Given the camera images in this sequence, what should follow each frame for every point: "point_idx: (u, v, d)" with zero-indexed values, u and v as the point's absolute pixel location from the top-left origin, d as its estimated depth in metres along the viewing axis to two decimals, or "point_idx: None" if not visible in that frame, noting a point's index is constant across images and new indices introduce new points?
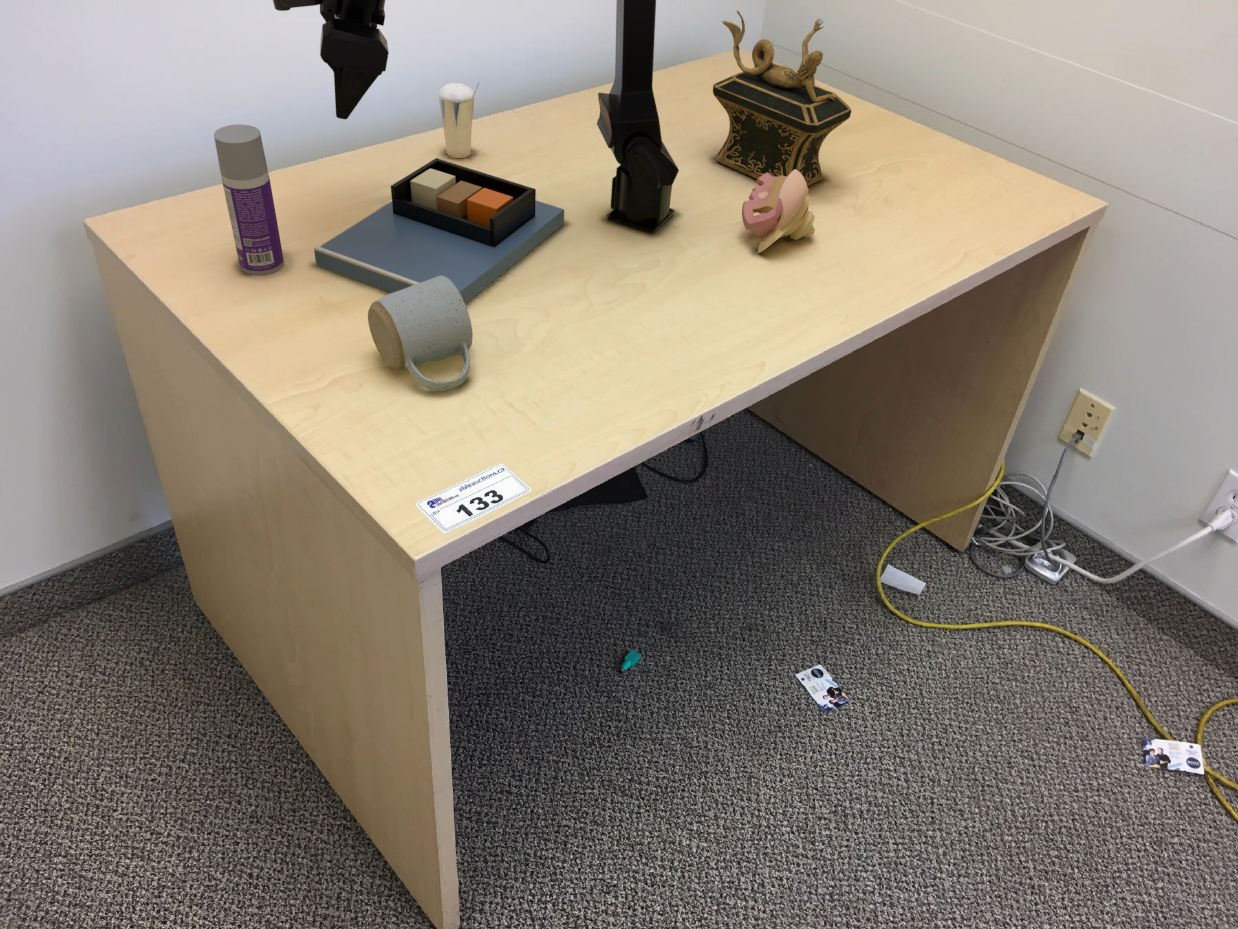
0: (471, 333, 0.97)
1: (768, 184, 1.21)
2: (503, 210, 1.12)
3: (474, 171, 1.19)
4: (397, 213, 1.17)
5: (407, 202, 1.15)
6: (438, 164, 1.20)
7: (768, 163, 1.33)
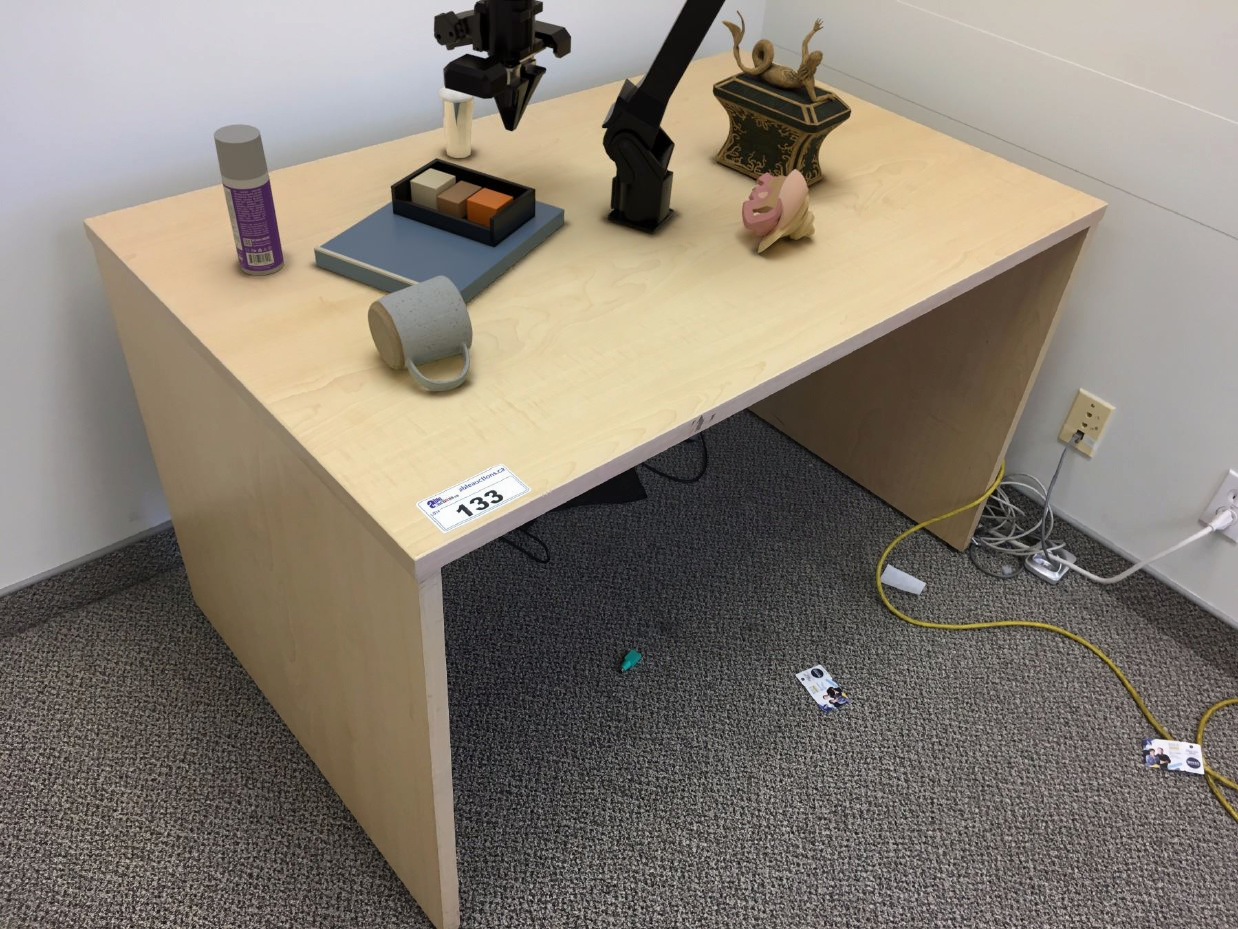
0: (471, 333, 0.97)
1: (768, 184, 1.21)
2: (503, 210, 1.12)
3: (474, 171, 1.19)
4: (397, 213, 1.17)
5: (407, 202, 1.15)
6: (438, 164, 1.20)
7: (768, 163, 1.33)
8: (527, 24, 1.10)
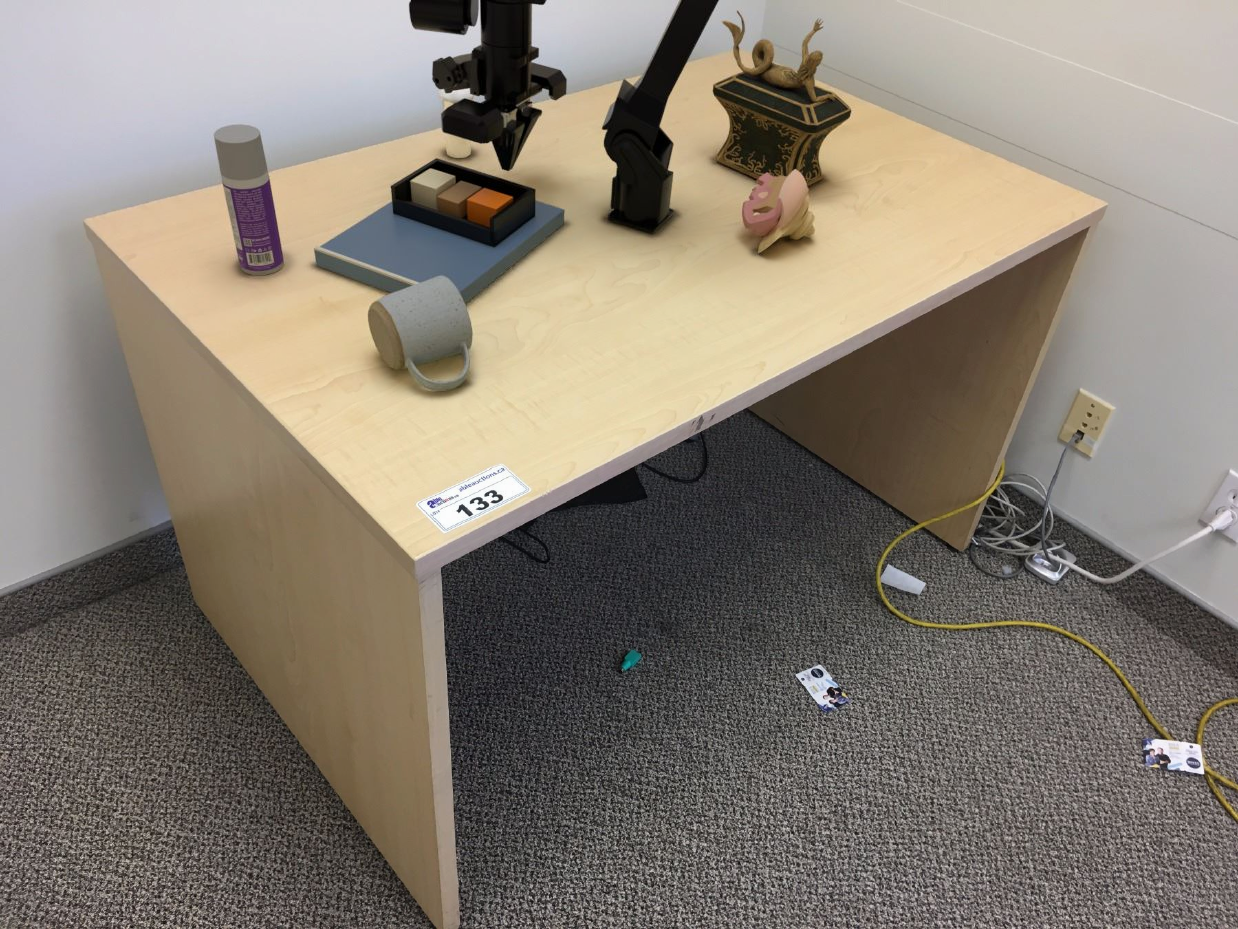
0: (471, 333, 0.97)
1: (768, 184, 1.21)
2: (503, 210, 1.12)
3: (474, 171, 1.19)
4: (397, 213, 1.17)
5: (407, 202, 1.15)
6: (438, 164, 1.20)
7: (768, 163, 1.33)
8: (523, 70, 1.13)
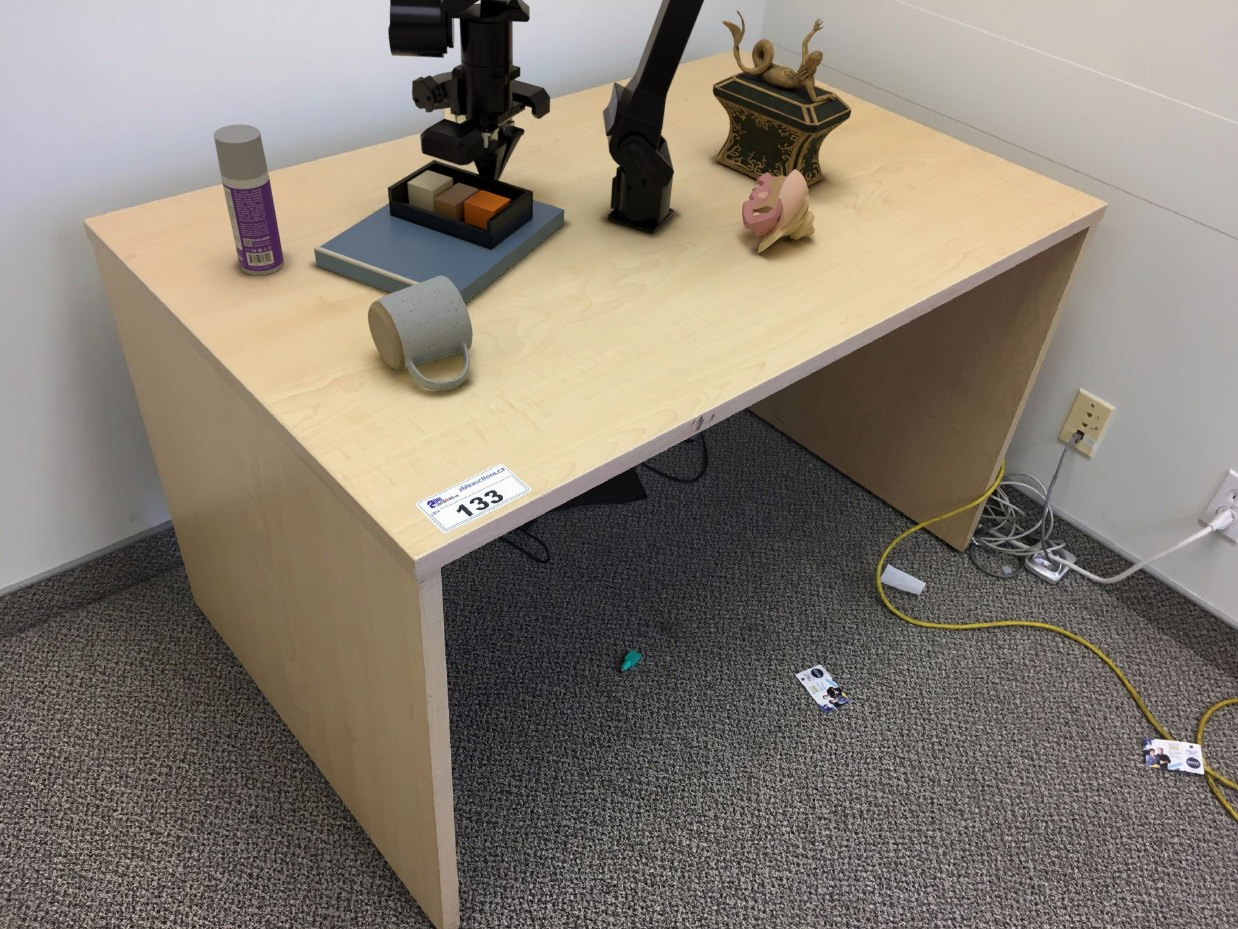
0: (471, 333, 0.97)
1: (768, 184, 1.21)
2: (500, 212, 1.12)
3: (471, 173, 1.18)
4: (394, 215, 1.16)
5: (404, 204, 1.15)
6: (436, 166, 1.20)
7: (768, 163, 1.33)
8: (504, 90, 1.11)
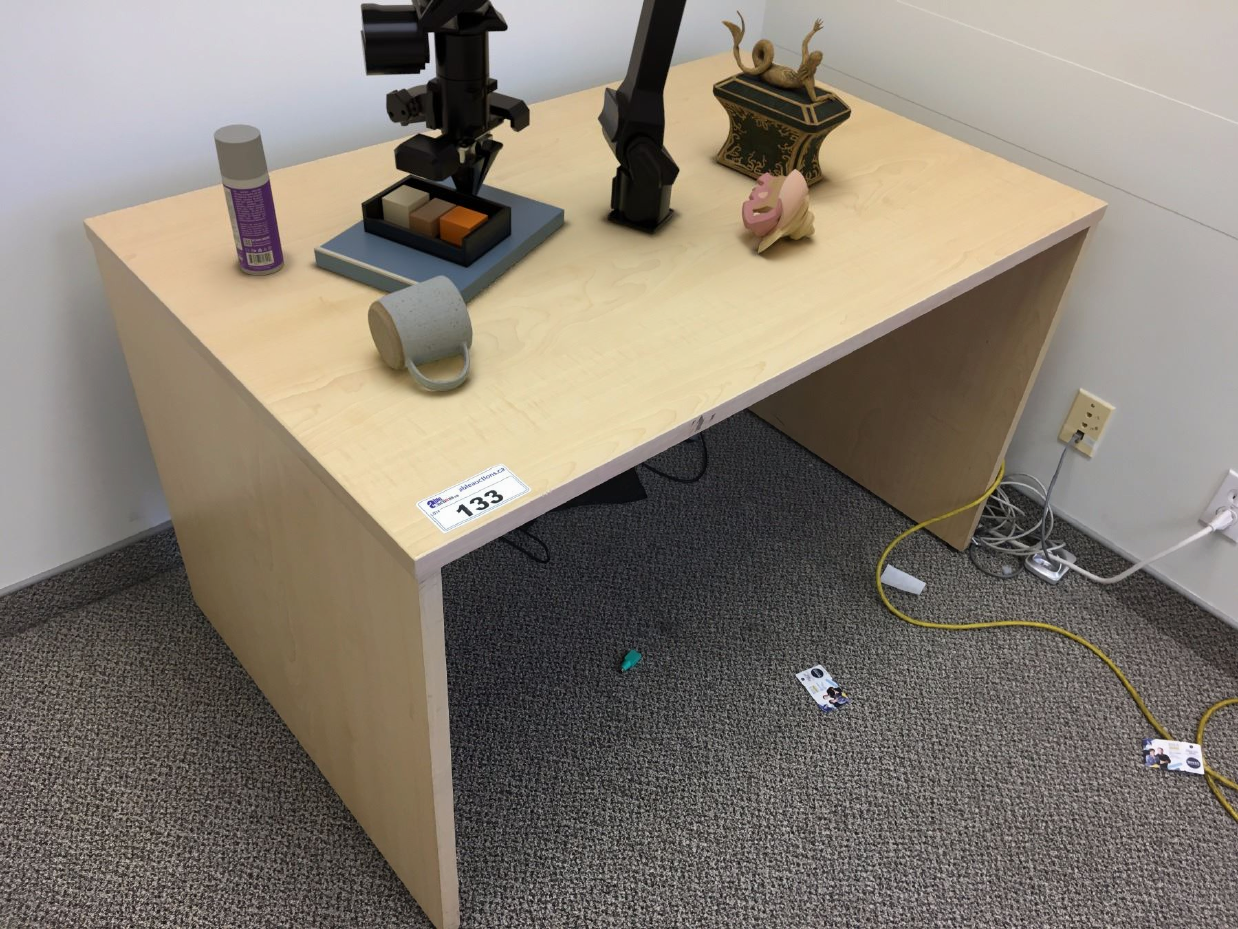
0: (471, 333, 0.97)
1: (768, 184, 1.21)
2: (476, 229, 1.08)
3: (449, 188, 1.15)
4: (368, 231, 1.13)
5: (378, 220, 1.11)
6: (412, 180, 1.17)
7: (768, 163, 1.33)
8: (480, 103, 1.08)
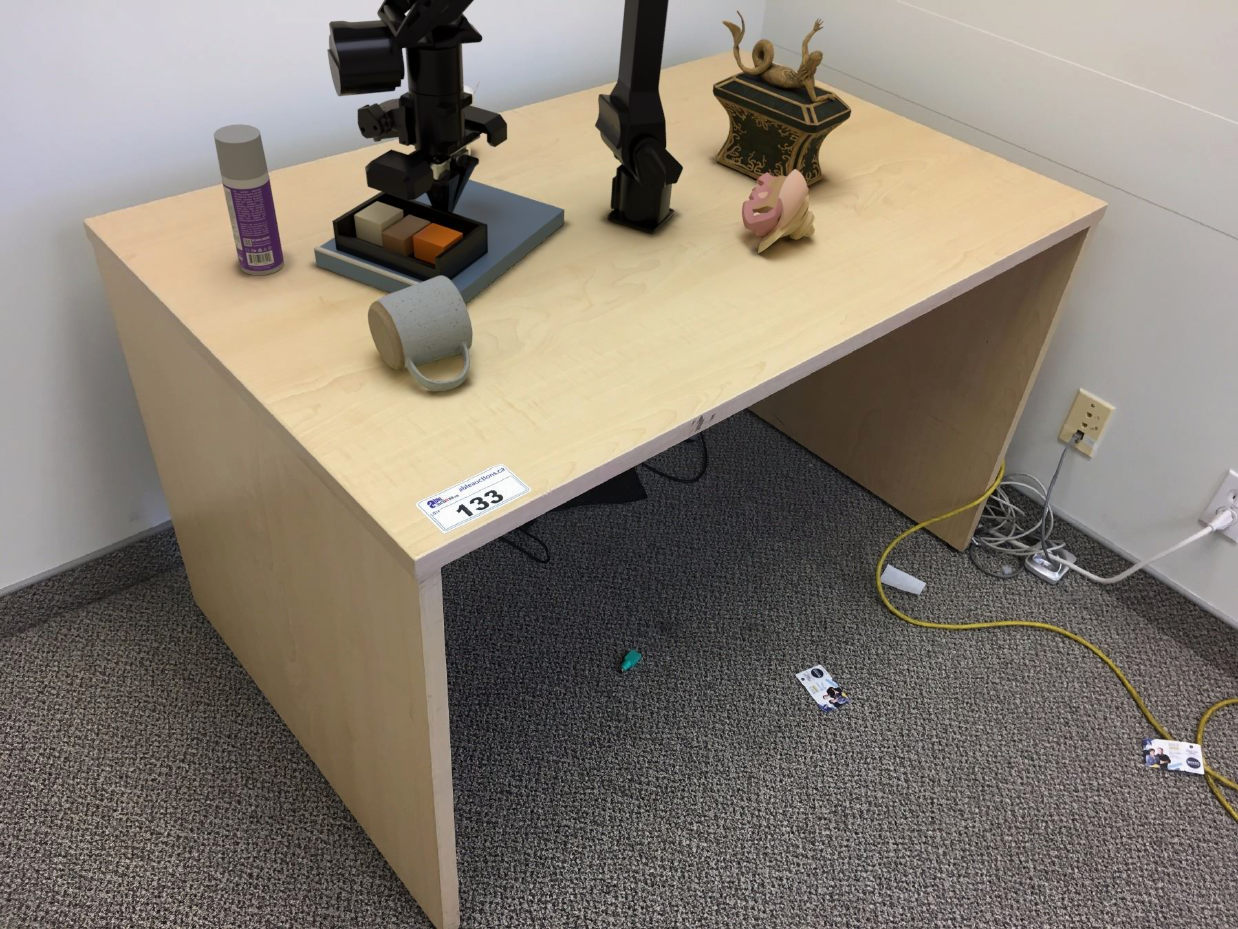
0: (471, 333, 0.97)
1: (768, 184, 1.21)
2: (450, 248, 1.05)
3: (423, 204, 1.12)
4: (340, 249, 1.10)
5: (350, 238, 1.08)
6: (386, 196, 1.13)
7: (768, 163, 1.33)
8: (454, 119, 1.04)
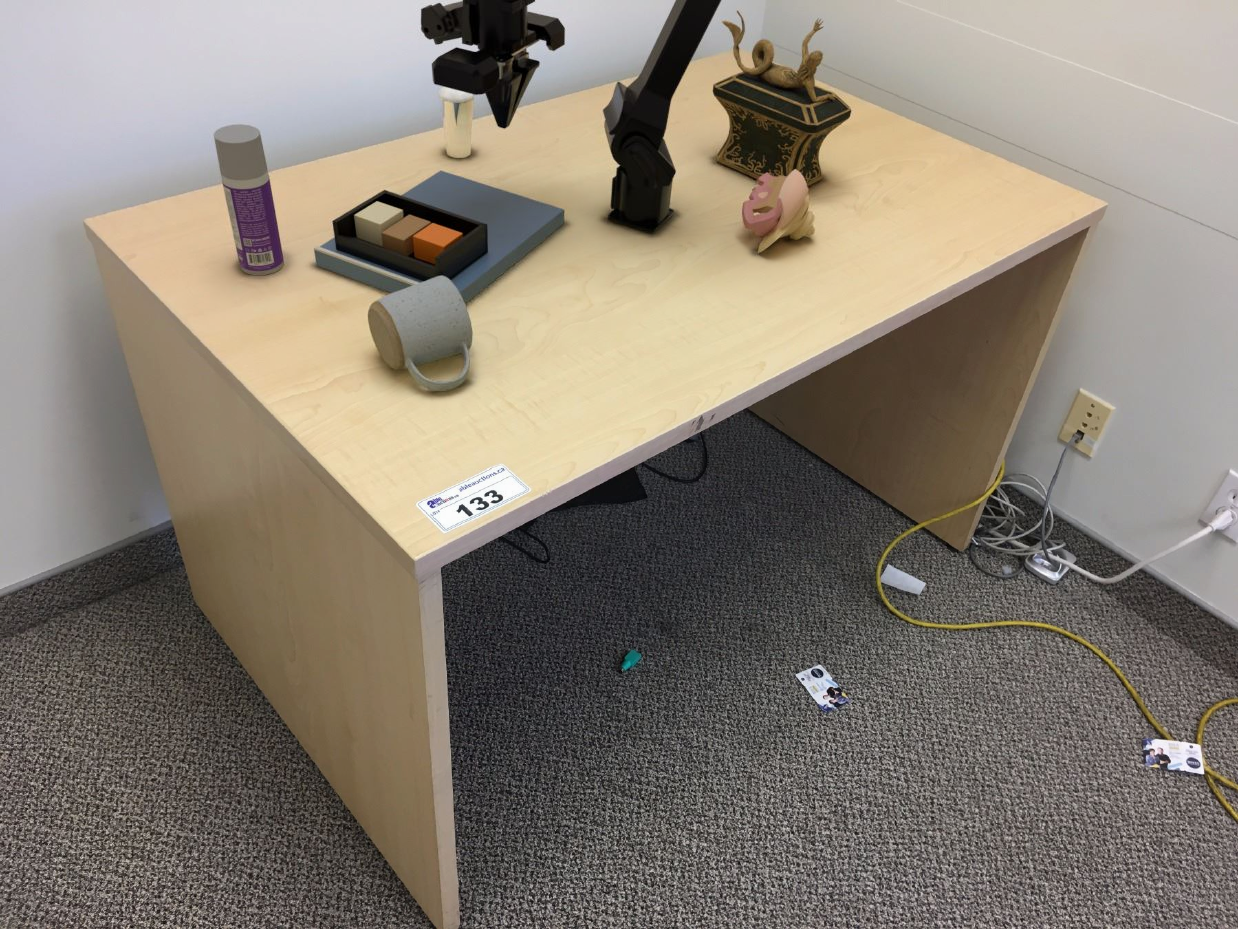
0: (471, 333, 0.97)
1: (768, 184, 1.21)
2: (450, 248, 1.05)
3: (423, 204, 1.12)
4: (340, 249, 1.10)
5: (350, 238, 1.08)
6: (386, 196, 1.13)
7: (768, 163, 1.33)
8: (519, 15, 1.05)
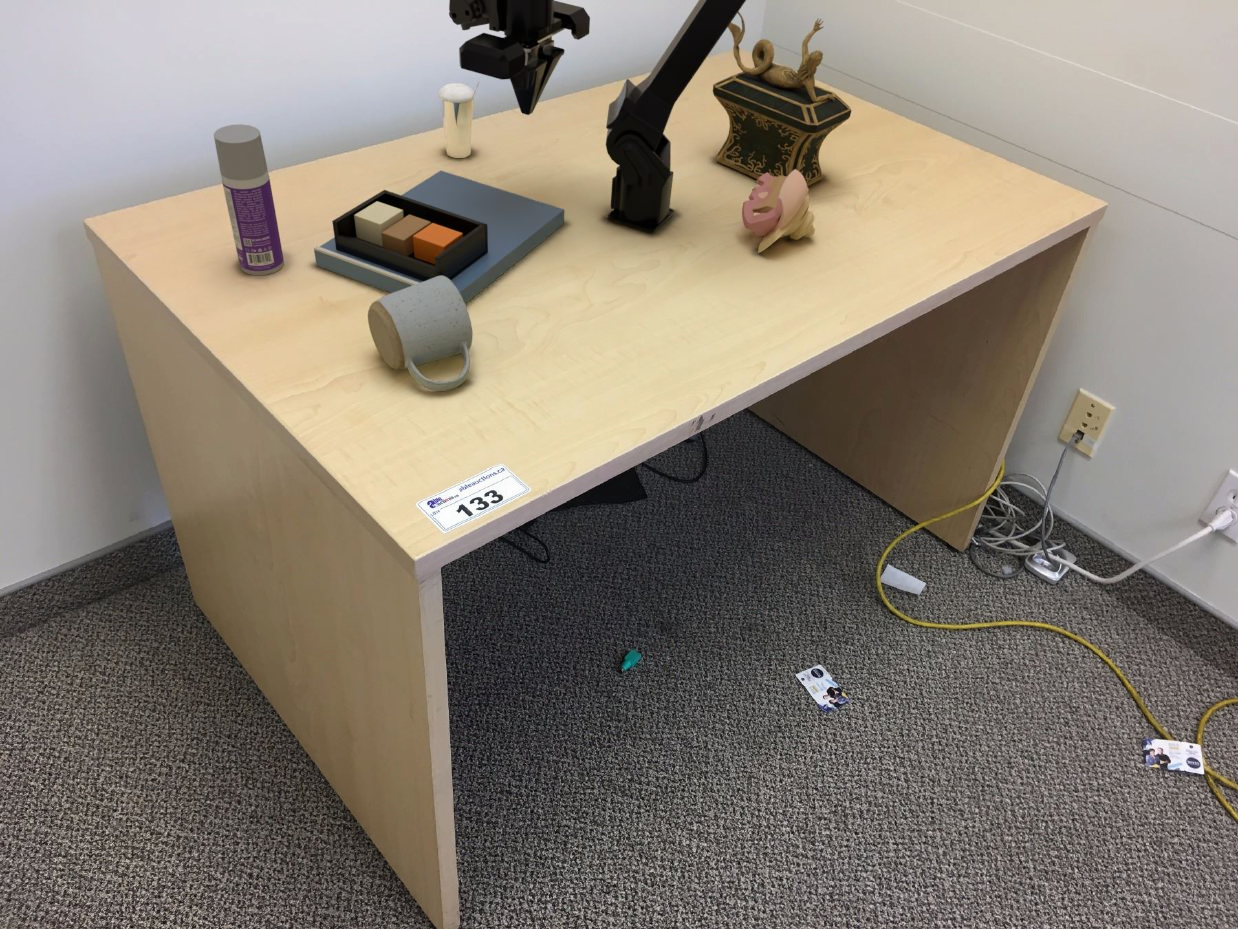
0: (471, 333, 0.97)
1: (768, 184, 1.21)
2: (450, 248, 1.05)
3: (423, 204, 1.12)
4: (340, 249, 1.10)
5: (350, 238, 1.08)
6: (386, 196, 1.13)
7: (768, 163, 1.33)
8: (546, 3, 1.06)
